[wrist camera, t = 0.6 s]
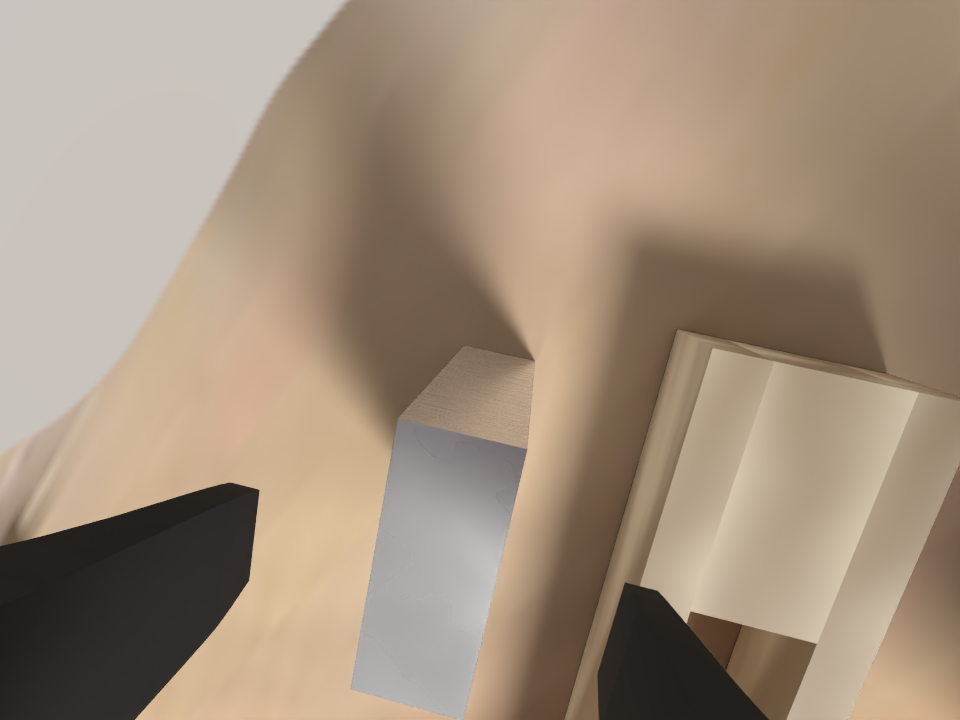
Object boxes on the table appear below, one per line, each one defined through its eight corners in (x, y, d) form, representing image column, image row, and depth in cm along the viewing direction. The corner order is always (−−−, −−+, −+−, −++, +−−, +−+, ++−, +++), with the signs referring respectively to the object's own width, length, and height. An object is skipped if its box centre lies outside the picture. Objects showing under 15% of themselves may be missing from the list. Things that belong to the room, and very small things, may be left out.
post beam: (888, 373, 16) (984, 406, 12) (683, 901, 20) (711, 1031, 17) (677, 329, 16) (712, 348, 13) (525, 853, 21) (522, 969, 17)
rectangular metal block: (535, 361, 17) (527, 449, 9) (498, 522, 18) (463, 720, 10) (464, 345, 17) (397, 418, 9) (432, 506, 18) (350, 689, 11)
